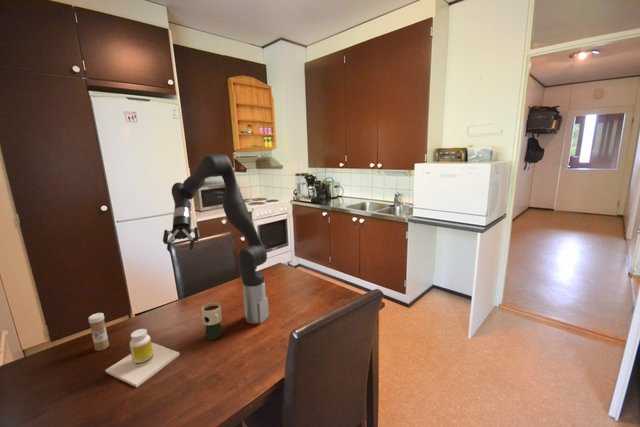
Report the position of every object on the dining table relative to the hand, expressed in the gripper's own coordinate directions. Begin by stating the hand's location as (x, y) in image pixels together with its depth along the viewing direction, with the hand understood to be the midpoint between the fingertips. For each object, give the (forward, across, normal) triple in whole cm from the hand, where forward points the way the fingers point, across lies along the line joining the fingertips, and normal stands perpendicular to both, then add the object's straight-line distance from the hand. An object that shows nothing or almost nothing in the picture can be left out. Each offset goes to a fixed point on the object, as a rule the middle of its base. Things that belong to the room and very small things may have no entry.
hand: (180, 250), depth 125 cm
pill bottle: (+42, -10, 0) cm, 43 cm away
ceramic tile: (+43, -10, 0) cm, 44 cm away
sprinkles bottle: (+33, -28, +11) cm, 45 cm away
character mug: (+37, +13, +7) cm, 39 cm away
